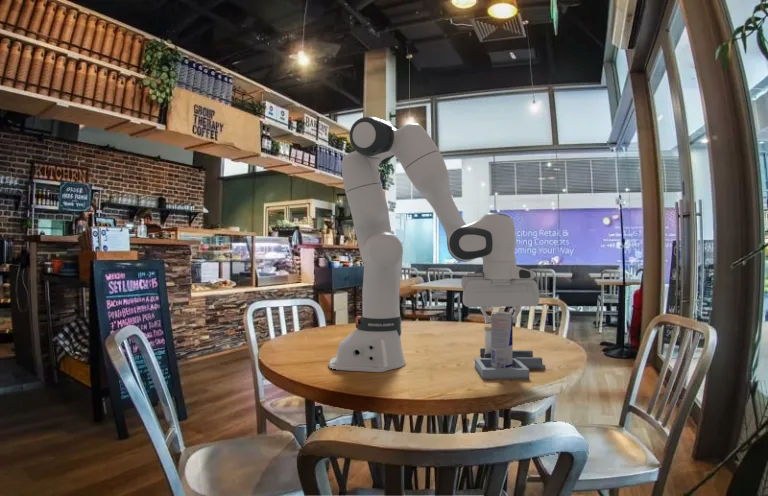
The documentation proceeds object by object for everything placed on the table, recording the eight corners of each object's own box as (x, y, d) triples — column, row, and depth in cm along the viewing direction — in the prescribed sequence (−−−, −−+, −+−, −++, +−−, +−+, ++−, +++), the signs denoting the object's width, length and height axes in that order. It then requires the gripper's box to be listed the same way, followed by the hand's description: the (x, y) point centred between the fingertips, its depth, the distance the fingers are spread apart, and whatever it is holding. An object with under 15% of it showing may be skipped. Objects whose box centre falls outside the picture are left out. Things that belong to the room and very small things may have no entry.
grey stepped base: (517, 369, 121) (517, 358, 121) (508, 360, 131) (508, 350, 131) (545, 369, 121) (545, 358, 121) (534, 360, 131) (534, 350, 131)
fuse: (486, 360, 131) (485, 327, 131) (483, 356, 136) (482, 325, 136) (501, 360, 131) (500, 327, 131) (498, 356, 135) (497, 325, 136)
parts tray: (482, 379, 112) (482, 369, 112) (474, 367, 124) (474, 358, 124) (529, 379, 111) (529, 369, 111) (517, 367, 123) (517, 358, 123)
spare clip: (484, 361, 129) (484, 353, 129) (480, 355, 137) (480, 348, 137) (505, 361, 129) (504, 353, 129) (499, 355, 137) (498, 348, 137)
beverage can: (515, 370, 115) (515, 315, 114) (495, 371, 115) (495, 316, 114) (508, 363, 121) (508, 310, 120) (488, 364, 120) (488, 311, 119)
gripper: (462, 273, 115) (464, 325, 115) (540, 272, 114) (541, 324, 114) (459, 272, 121) (460, 321, 121) (533, 271, 120) (534, 320, 120)
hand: (500, 323), depth 117 cm, fingers closed on beverage can, 5 cm apart
